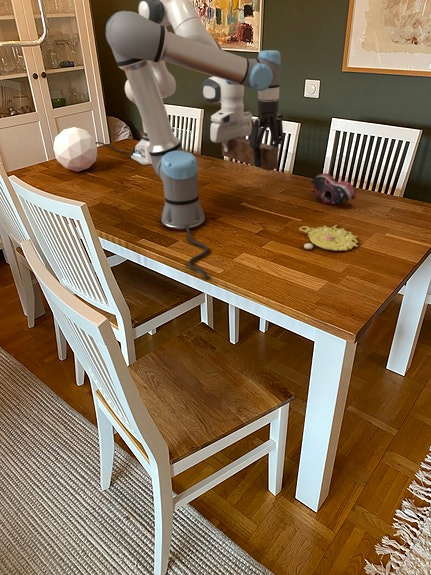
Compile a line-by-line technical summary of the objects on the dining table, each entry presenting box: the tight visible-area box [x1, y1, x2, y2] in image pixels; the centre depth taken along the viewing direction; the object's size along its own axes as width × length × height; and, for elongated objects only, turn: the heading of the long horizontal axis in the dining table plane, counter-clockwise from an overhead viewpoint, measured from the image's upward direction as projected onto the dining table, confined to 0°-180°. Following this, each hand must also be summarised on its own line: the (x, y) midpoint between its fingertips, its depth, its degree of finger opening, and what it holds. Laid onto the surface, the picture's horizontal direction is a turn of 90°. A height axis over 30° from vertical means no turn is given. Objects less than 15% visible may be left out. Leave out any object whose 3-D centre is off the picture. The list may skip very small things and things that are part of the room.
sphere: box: [52, 126, 98, 173], centre depth 205 cm, size 19×20×20 cm
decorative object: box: [299, 224, 359, 252], centre depth 141 cm, size 21×2×20 cm
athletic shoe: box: [309, 173, 357, 206], centre depth 167 cm, size 11×22×12 cm
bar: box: [221, 137, 279, 172], centre depth 174 cm, size 28×5×8 cm, turn 39°
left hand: (232, 149), depth 181 cm, fingers closed on bar, 4 cm apart
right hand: (265, 163), depth 169 cm, fingers open, 8 cm apart
